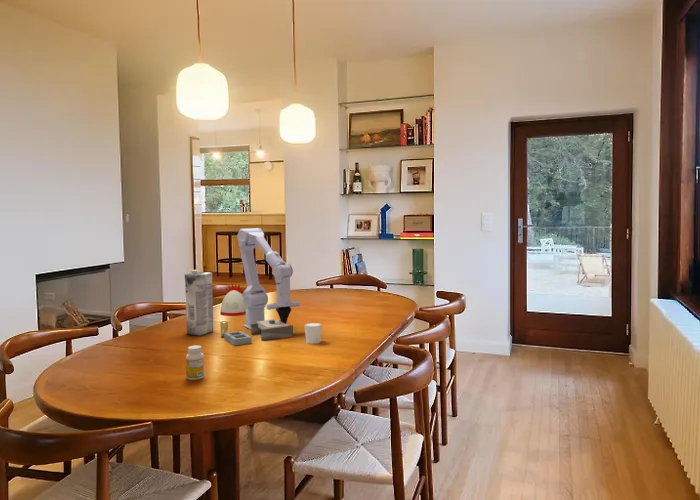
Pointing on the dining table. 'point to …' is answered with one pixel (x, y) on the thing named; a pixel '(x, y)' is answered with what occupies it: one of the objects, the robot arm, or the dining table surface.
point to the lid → (270, 324)
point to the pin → (224, 328)
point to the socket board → (238, 338)
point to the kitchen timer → (233, 302)
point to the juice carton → (199, 302)
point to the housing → (272, 332)
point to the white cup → (313, 333)
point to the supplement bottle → (194, 363)
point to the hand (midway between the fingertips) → (283, 324)
